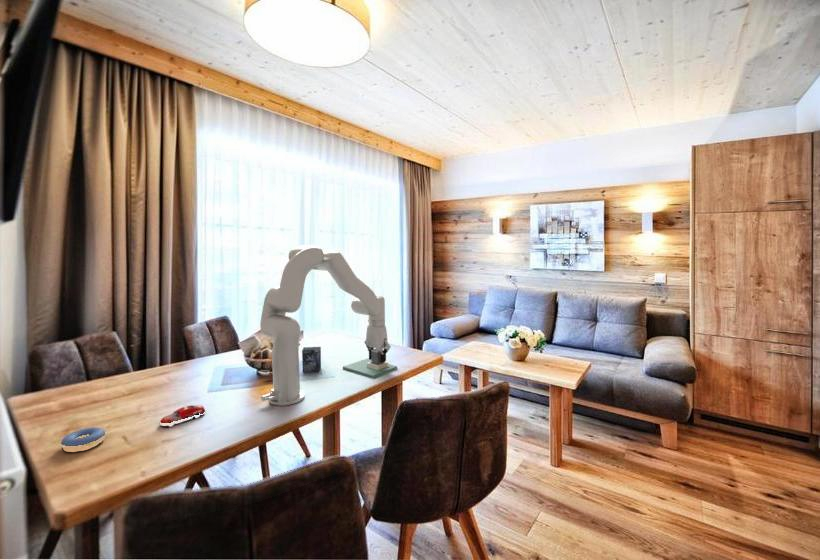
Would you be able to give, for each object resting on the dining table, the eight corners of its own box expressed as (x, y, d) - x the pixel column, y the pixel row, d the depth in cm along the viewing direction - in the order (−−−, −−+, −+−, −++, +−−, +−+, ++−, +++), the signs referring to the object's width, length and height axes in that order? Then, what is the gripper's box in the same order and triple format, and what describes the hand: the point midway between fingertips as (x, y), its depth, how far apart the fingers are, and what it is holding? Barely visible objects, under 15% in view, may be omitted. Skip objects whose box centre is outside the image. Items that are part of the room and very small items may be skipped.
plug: (377, 368, 171) (377, 351, 170) (371, 366, 173) (371, 349, 173) (383, 366, 174) (383, 349, 173) (377, 364, 176) (377, 348, 176)
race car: (162, 430, 117) (161, 418, 117) (157, 425, 121) (156, 413, 120) (207, 416, 127) (206, 404, 126) (201, 411, 130) (200, 400, 130)
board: (373, 378, 162) (373, 371, 161) (342, 369, 174) (342, 362, 174) (397, 368, 174) (397, 362, 174) (367, 360, 186) (367, 354, 186)
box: (302, 372, 169) (301, 350, 168) (304, 368, 175) (303, 347, 174) (320, 372, 170) (319, 349, 169) (321, 368, 176) (320, 346, 175)
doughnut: (49, 455, 103) (50, 438, 102) (79, 438, 113) (80, 423, 112) (87, 457, 103) (88, 441, 103) (113, 440, 113) (114, 425, 113)
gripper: (358, 321, 174) (358, 359, 176) (385, 326, 163) (385, 366, 165) (369, 319, 180) (370, 355, 182) (396, 323, 169) (396, 362, 171)
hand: (377, 360), depth 173 cm, fingers open, 6 cm apart
